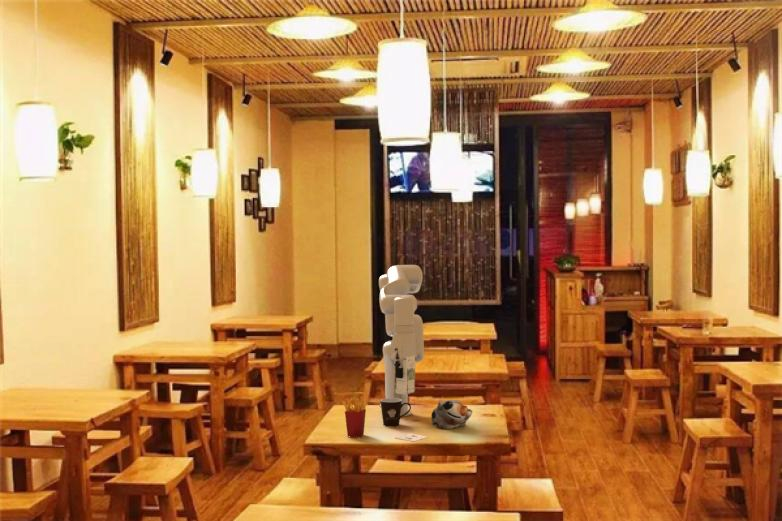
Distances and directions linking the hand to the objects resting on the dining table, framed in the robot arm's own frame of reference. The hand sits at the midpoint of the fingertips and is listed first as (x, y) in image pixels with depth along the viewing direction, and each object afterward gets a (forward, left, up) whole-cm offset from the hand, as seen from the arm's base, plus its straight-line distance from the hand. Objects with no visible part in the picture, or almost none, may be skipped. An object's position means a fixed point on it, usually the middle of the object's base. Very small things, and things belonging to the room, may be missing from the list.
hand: (404, 376), depth 339 cm
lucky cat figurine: (+4, +25, -23) cm, 34 cm away
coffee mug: (-16, +13, -23) cm, 31 cm away
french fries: (-17, -10, -23) cm, 31 cm away
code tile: (+3, 0, -23) cm, 23 cm away
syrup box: (0, 0, -7) cm, 7 cm away
